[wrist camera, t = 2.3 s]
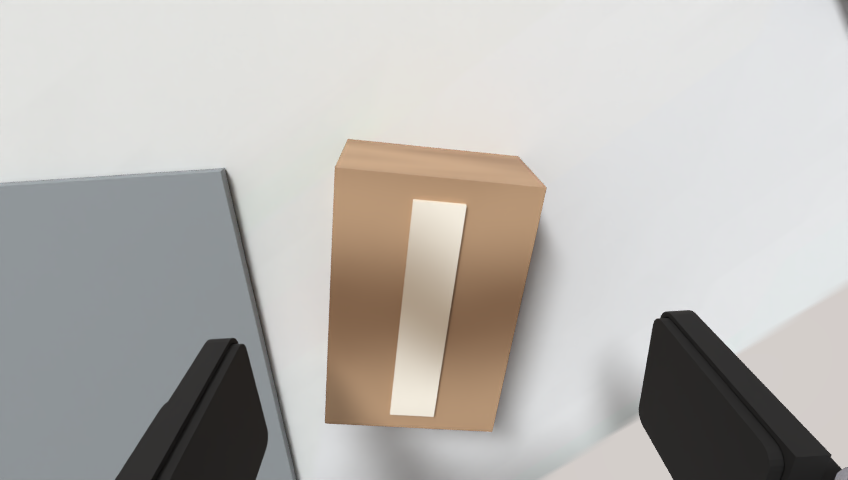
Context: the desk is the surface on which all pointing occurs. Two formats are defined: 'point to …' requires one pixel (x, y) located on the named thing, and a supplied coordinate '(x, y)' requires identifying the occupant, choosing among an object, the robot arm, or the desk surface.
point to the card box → (425, 283)
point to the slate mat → (116, 316)
